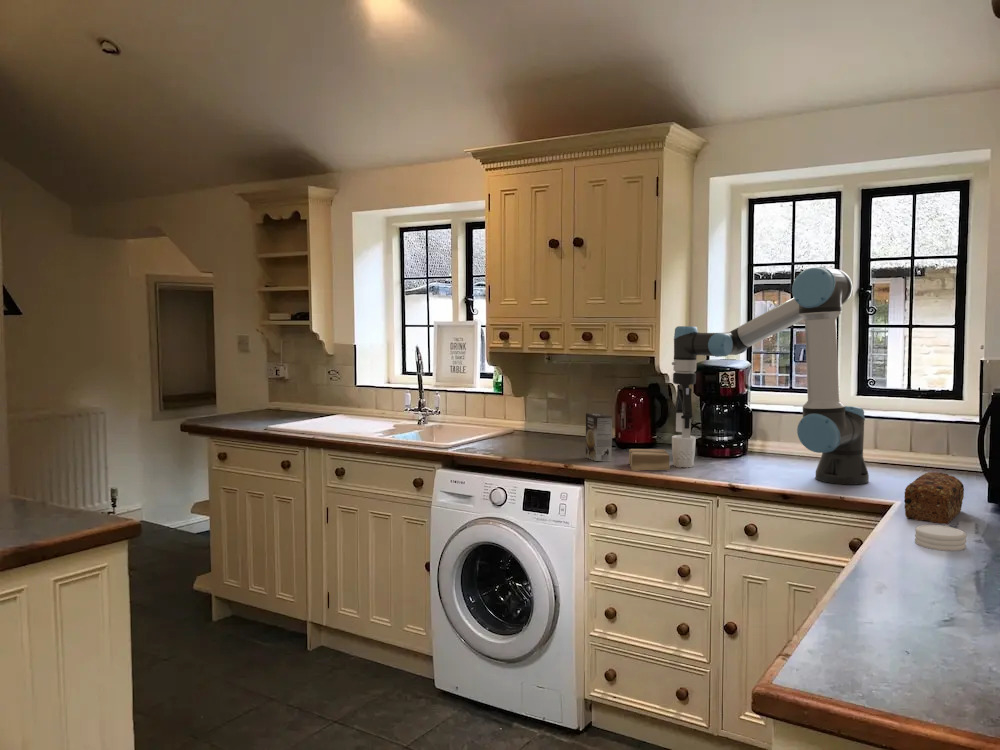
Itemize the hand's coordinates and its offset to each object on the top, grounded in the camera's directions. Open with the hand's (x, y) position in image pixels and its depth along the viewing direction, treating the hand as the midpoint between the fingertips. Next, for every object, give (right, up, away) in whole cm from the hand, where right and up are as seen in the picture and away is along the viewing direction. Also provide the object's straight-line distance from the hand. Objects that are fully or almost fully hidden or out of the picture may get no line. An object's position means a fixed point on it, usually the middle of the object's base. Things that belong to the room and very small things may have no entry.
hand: (682, 434), depth 273 cm
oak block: (-12, -11, -2) cm, 16 cm away
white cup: (0, -11, +1) cm, 11 cm away
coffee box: (-27, -10, +13) cm, 32 cm away
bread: (+49, -16, -67) cm, 85 cm away
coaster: (+36, -18, -94) cm, 102 cm away
